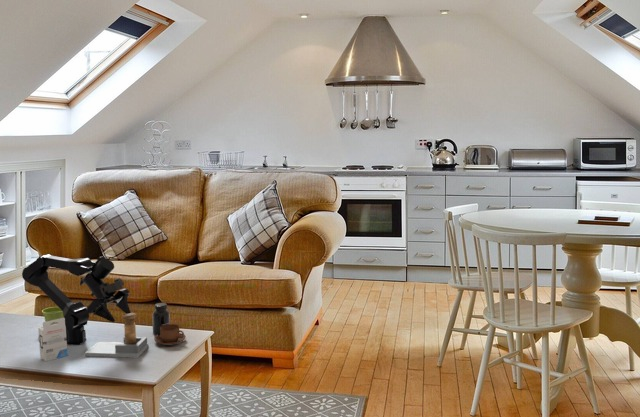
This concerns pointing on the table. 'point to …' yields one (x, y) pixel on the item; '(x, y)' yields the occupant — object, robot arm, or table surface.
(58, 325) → the ink box
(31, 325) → the table surface
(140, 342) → the board
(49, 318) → the plant pot
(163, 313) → the supplement bottle
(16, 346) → the table surface
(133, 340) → the bobbin
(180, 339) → the cup and saucer
